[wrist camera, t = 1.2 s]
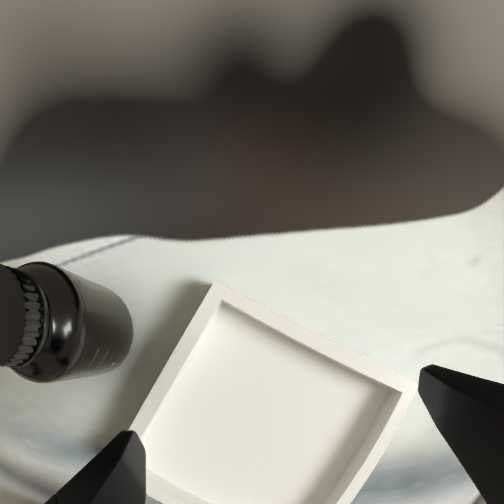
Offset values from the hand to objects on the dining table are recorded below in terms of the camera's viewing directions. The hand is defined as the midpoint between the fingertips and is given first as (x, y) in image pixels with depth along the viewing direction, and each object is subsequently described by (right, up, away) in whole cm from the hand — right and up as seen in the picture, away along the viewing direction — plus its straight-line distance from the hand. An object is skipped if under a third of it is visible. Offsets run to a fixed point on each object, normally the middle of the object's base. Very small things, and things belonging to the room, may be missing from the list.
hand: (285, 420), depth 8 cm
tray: (0, -8, +12) cm, 14 cm away
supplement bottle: (-13, -1, +14) cm, 19 cm away
